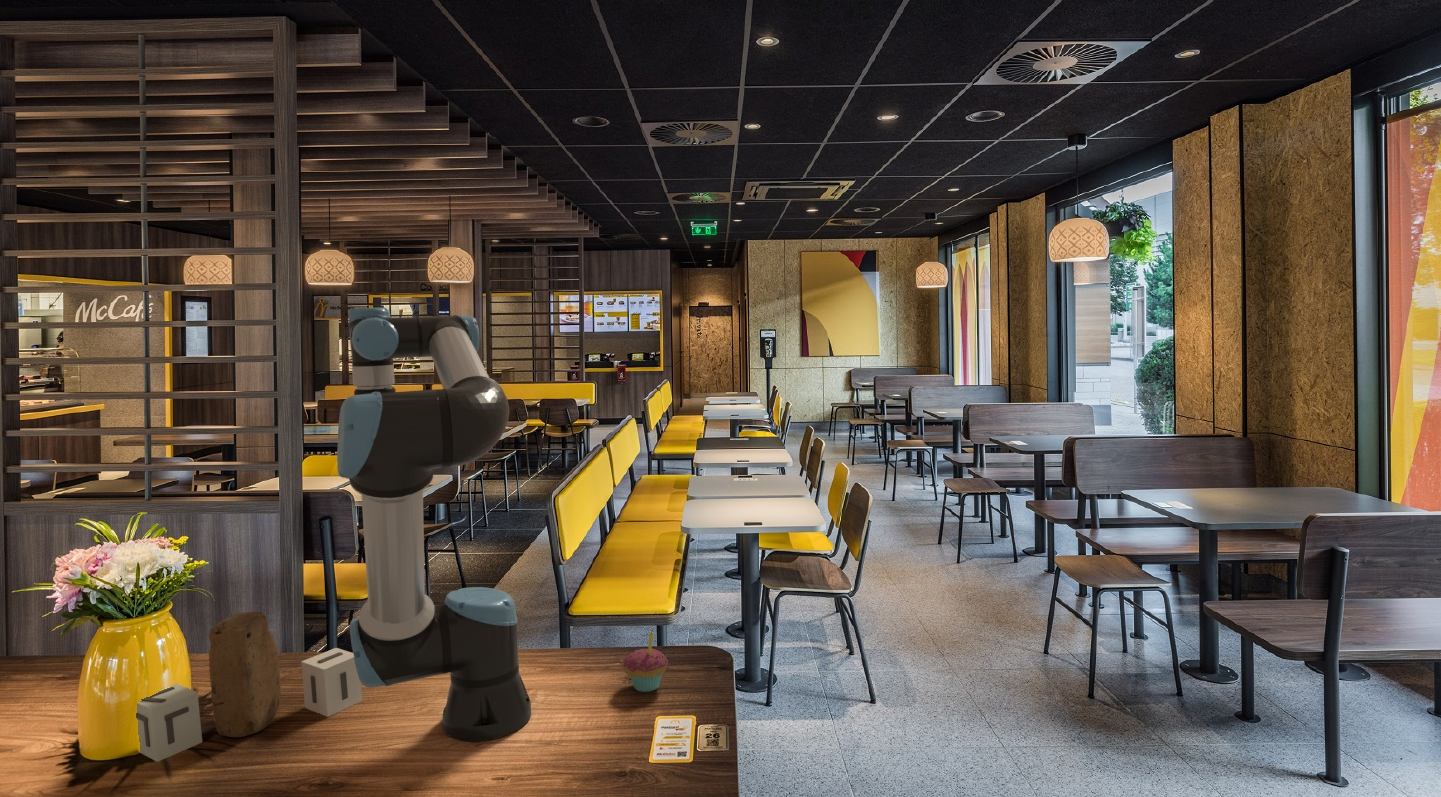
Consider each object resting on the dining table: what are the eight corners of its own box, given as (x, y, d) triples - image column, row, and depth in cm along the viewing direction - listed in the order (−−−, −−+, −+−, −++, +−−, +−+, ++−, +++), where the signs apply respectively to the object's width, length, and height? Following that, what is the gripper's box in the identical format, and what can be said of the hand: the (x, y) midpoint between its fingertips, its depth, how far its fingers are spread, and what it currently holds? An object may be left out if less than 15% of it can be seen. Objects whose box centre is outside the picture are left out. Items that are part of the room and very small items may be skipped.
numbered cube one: (363, 701, 154) (359, 653, 153) (327, 718, 148) (323, 668, 147) (339, 692, 158) (336, 646, 156) (303, 708, 151) (299, 660, 150)
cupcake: (677, 682, 158) (675, 622, 157) (650, 701, 151) (648, 638, 150) (641, 673, 163) (639, 614, 161) (614, 690, 156) (611, 629, 154)
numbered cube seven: (203, 742, 140) (198, 691, 139) (156, 763, 134) (150, 709, 133) (181, 732, 144) (176, 681, 143) (135, 751, 138) (129, 699, 137)
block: (251, 741, 140) (241, 628, 138) (210, 740, 141) (199, 628, 138) (289, 710, 151) (280, 605, 149) (251, 709, 151) (241, 605, 149)
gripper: (412, 386, 160) (420, 504, 162) (370, 384, 166) (378, 498, 169) (379, 390, 153) (388, 513, 156) (336, 387, 160) (345, 506, 163)
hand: (383, 505), depth 162 cm, fingers closed
